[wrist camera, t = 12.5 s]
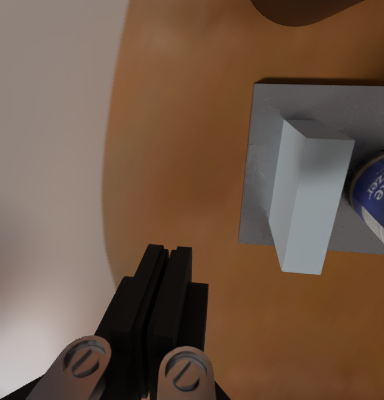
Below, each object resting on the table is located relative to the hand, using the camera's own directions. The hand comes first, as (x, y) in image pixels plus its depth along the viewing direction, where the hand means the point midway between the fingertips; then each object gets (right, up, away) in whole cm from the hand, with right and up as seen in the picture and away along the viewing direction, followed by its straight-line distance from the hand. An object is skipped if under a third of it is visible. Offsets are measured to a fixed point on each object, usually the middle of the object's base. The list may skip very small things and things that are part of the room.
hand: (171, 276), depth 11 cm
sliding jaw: (+9, +5, +12) cm, 16 cm away
